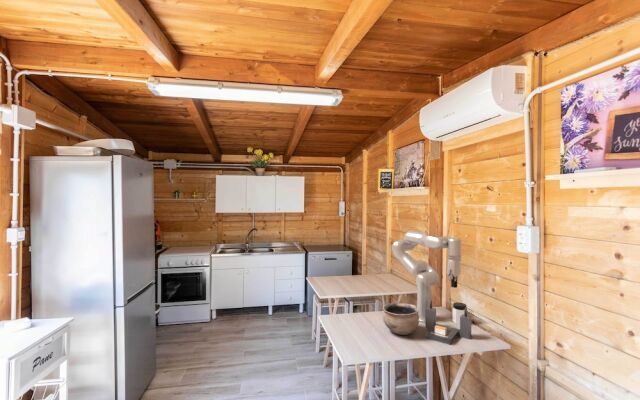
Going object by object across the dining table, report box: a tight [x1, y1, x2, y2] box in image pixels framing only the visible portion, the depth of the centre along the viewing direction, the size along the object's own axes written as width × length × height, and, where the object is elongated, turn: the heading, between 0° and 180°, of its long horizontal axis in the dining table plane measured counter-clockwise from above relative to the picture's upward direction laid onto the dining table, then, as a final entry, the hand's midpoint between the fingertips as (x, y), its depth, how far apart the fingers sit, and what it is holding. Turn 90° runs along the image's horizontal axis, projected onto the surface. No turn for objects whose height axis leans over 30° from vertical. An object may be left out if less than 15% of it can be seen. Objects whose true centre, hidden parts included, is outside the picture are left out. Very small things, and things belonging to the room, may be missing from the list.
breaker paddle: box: [435, 325, 447, 335], centre depth 186 cm, size 6×2×4 cm, turn 50°
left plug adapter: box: [424, 299, 437, 330], centre depth 202 cm, size 5×5×17 cm
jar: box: [451, 302, 467, 325], centre depth 211 cm, size 9×8×12 cm
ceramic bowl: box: [382, 302, 420, 336], centre depth 195 cm, size 22×22×15 cm
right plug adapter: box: [459, 306, 472, 340], centre depth 189 cm, size 5×5×17 cm
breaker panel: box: [425, 323, 460, 345], centre depth 189 cm, size 14×18×3 cm
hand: (454, 287), depth 198 cm, fingers closed
